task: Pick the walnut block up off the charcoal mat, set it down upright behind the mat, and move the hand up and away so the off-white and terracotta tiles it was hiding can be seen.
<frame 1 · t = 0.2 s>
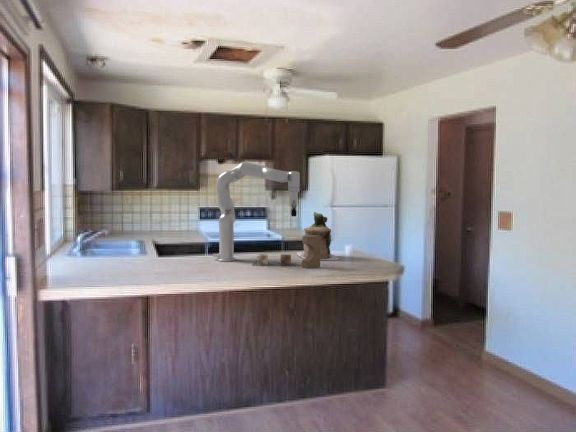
hand: (293, 215, 329), 31 cm above the countertop, tool pointing down, fingers open, 9 cm apart
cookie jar: (317, 258, 346), on the countertop
walnut block: (285, 264, 318), resting on code mat
code mat: (274, 264, 318), on the countertop
maple block: (262, 264, 318), resting on code mat
decorative block: (311, 267, 311), on the countertop
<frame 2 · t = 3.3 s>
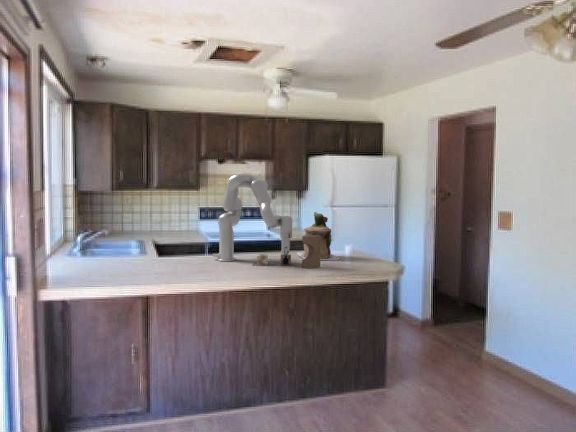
hand: (285, 262, 318), 1 cm above the countertop, tool pointing down, fingers closed on walnut block, 6 cm apart
walnut block: (285, 264, 318), resting on code mat, touching gripper
everything else where it was.
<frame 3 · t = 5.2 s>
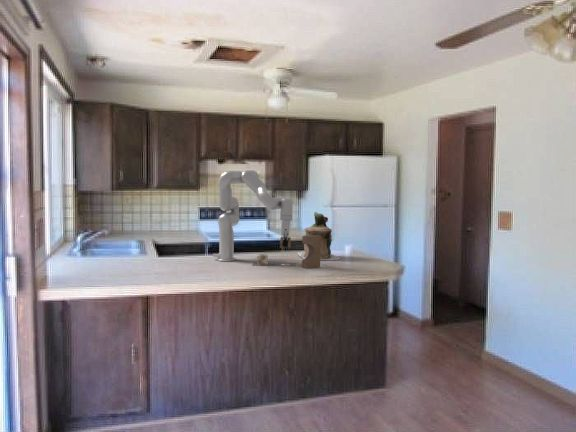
hand: (285, 245, 317), 13 cm above the countertop, tool pointing down, fingers closed on walnut block, 6 cm apart
walnut block: (285, 247, 317), point 12 cm above the countertop, touching gripper
everything else where it was.
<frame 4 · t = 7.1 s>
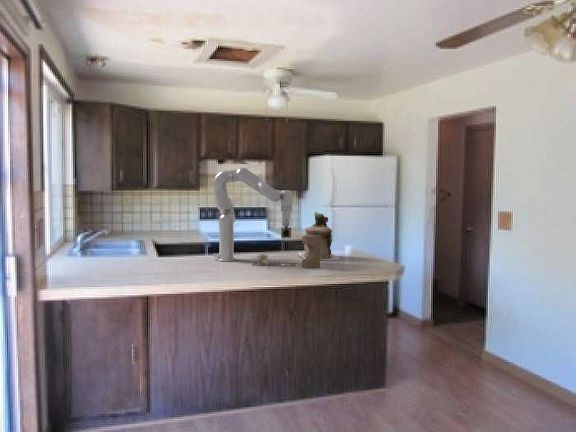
hand: (286, 235, 330), 17 cm above the countertop, tool pointing down, fingers closed on walnut block, 6 cm apart
walnut block: (286, 237, 330), point 16 cm above the countertop, touching gripper
everything else where it was.
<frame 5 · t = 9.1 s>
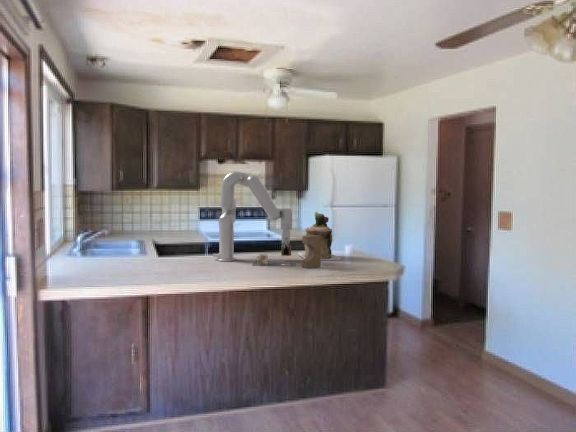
hand: (286, 253, 331), 5 cm above the countertop, tool pointing down, fingers closed on walnut block, 6 cm apart
walnut block: (286, 254, 331), point 4 cm above the countertop, touching gripper
everything else where it was.
when the fingers open (2 cm above the countertop, at t = 10.7 s): walnut block drops 1 cm, on the countertop.
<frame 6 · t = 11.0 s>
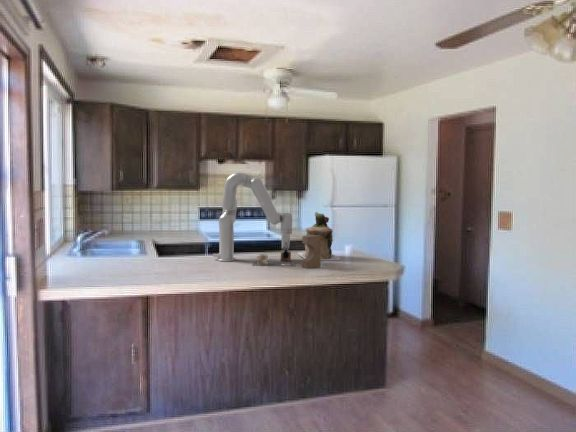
hand: (285, 256, 331), 3 cm above the countertop, tool pointing down, fingers open, 9 cm apart
walnut block: (285, 261, 332), on the countertop
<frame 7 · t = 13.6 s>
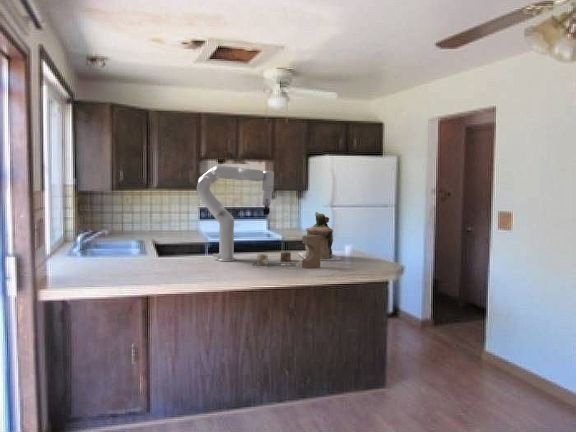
hand: (266, 214, 336), 31 cm above the countertop, tool pointing down, fingers open, 9 cm apart
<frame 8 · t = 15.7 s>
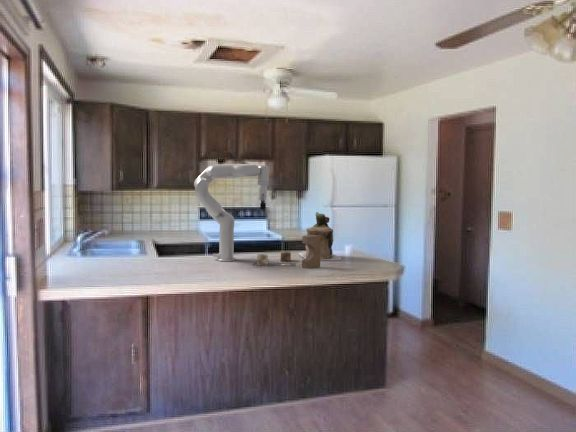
hand: (263, 208, 337), 34 cm above the countertop, tool pointing down, fingers open, 9 cm apart
at the end: walnut block inside the target area (0.1 cm from its centre), on the countertop; walnut block tilted 0°; the gripper is holding nothing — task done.
